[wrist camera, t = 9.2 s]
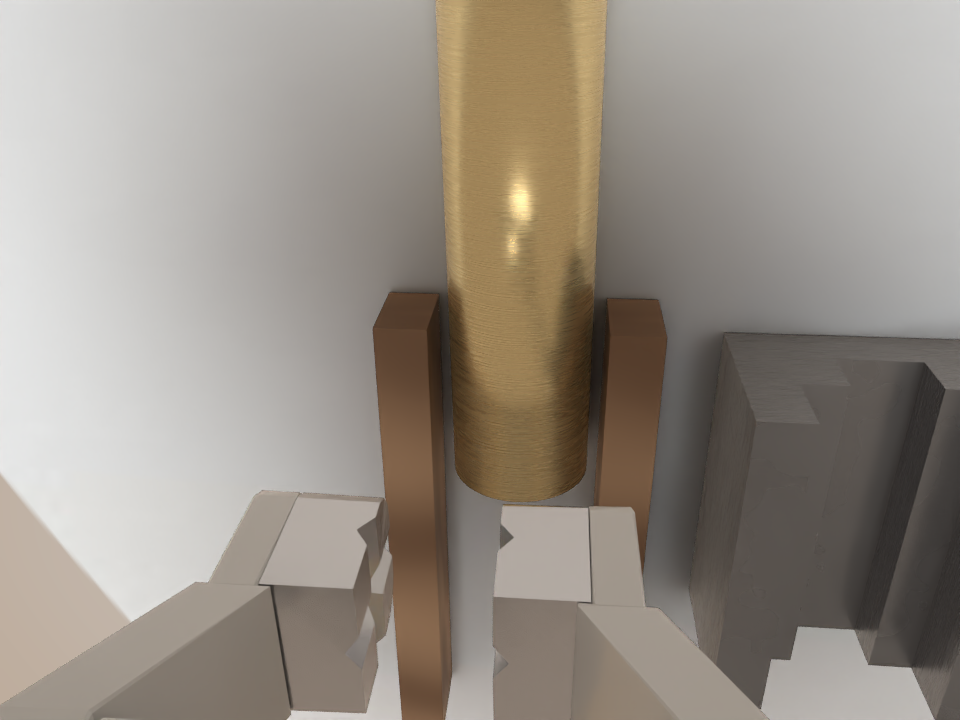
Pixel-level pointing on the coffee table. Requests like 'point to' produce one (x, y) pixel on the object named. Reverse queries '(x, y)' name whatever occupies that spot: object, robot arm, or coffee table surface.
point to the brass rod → (521, 235)
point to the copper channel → (421, 466)
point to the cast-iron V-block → (833, 506)
